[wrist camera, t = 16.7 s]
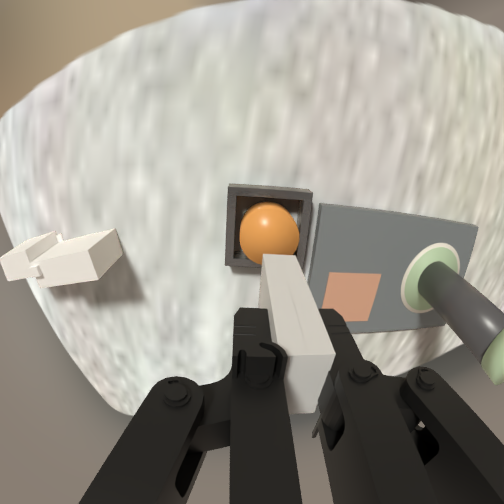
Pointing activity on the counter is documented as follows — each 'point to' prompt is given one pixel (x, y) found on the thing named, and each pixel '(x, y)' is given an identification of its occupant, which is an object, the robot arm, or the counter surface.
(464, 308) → the marker
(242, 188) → the button housing
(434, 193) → the counter surface
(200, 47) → the counter surface
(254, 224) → the button
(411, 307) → the board
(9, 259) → the white block piece
